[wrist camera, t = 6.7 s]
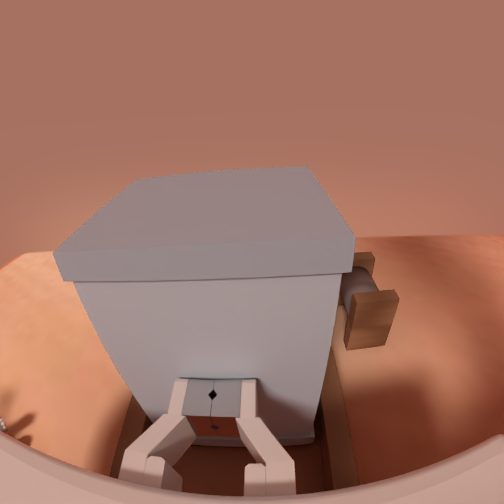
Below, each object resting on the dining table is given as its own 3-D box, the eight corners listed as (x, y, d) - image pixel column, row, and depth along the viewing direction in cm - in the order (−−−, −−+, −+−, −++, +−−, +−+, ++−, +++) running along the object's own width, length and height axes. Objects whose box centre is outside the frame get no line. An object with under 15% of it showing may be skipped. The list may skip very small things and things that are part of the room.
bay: (363, 295, 24) (371, 252, 22) (434, 503, 8) (478, 479, 6) (176, 304, 25) (165, 261, 22) (119, 518, 9) (74, 499, 6)
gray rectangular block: (300, 347, 19) (307, 166, 13) (312, 444, 13) (355, 237, 7) (181, 350, 20) (136, 179, 13) (161, 441, 13) (52, 253, 7)
